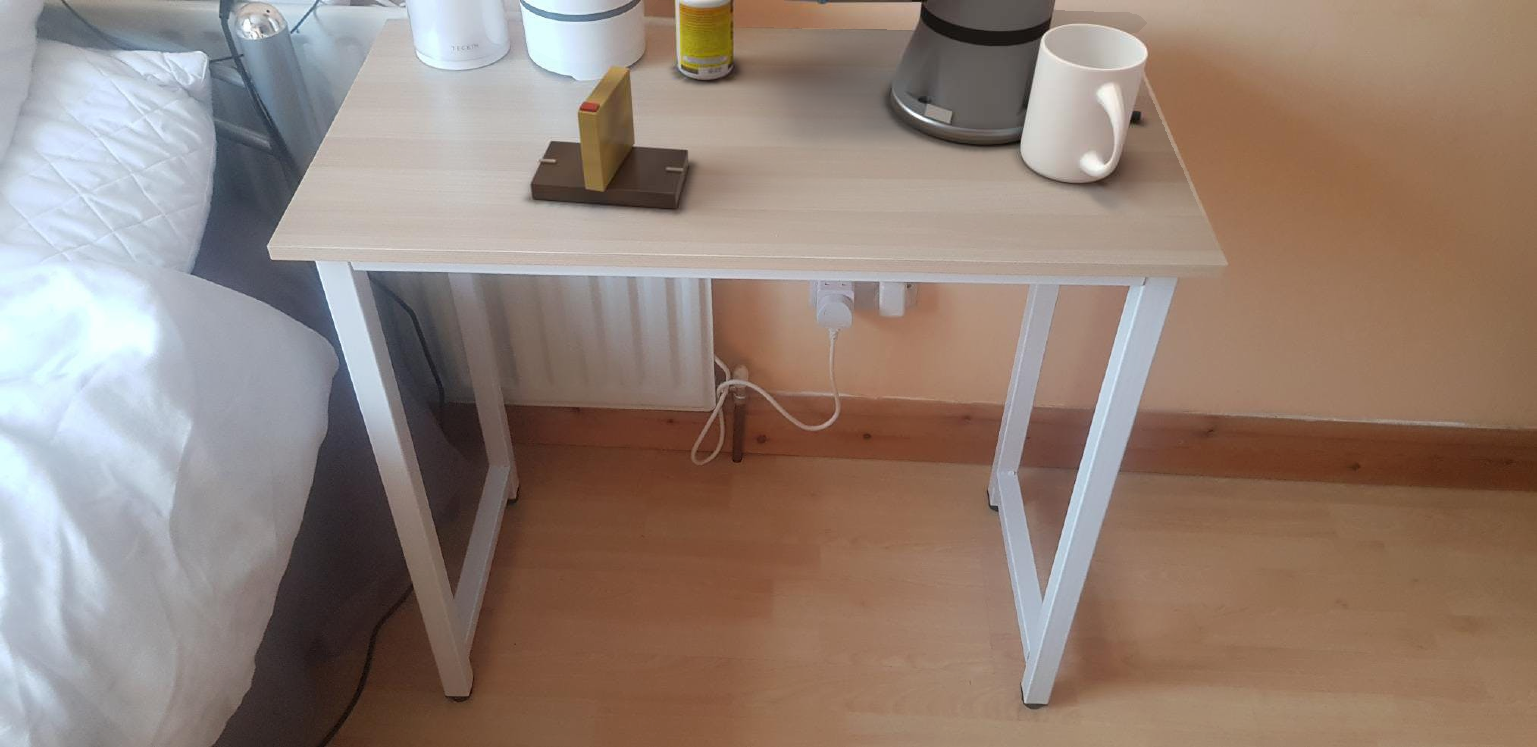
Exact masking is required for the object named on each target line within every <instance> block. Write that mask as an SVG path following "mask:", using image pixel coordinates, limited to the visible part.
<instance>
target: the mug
mask: <svg viewBox="0 0 1537 747" xmlns="http://www.w3.org/2000/svg"><path fill="white" fill-rule="evenodd" d="M1148 57H1149V52H1148V49H1147V47H1146V45H1145V44H1144V42H1142V41H1141V40H1140V39H1139V38H1137V37H1135V36H1134V35H1132V34H1131V33H1128V32H1126V31H1123V30H1122V29H1121V30H1120V29H1117V28H1114V27H1111V26H1106V25H1100V24H1092V23H1070V24H1063V25H1059V26H1056V27H1052V28H1050V30H1049V31H1047V32H1046V33H1045V34H1044V35H1043V37H1042V39H1041V43H1040V48H1039V53H1038V58H1037V63H1036V68H1035V73H1034V78H1033V83H1032V88H1031V93H1030V98H1029V103H1028V108H1027V113H1026V118H1025V123H1024V128H1023V133H1022V138H1021V140H1020V154H1021V157H1022V159H1023V162H1024V163H1025V164H1026V165H1027V166H1028V168H1030V169H1031V170H1032V171H1033V172H1035V173H1037V174H1038V175H1041V176H1042V177H1045V178H1047V179H1050V180H1054V181H1058V182H1063V183H1070V184H1086V183H1087V184H1088V183H1093V182H1096V181H1100V180H1102V179H1104V178H1107V177H1108V176H1109V175H1110V174H1112V173H1113V172H1114V171H1115V169H1116V167H1117V166H1118V163H1119V162H1120V159H1121V155H1122V152H1123V149H1124V148H1123V147H1124V145H1125V141H1126V137H1127V134H1128V130H1129V126H1130V122H1131V120H1130V119H1131V116H1132V112H1133V111H1134V109H1135V104H1136V101H1137V98H1138V97H1137V96H1138V94H1139V90H1140V86H1141V83H1142V78H1143V75H1144V71H1145V68H1146V64H1147V61H1148Z"/></svg>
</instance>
